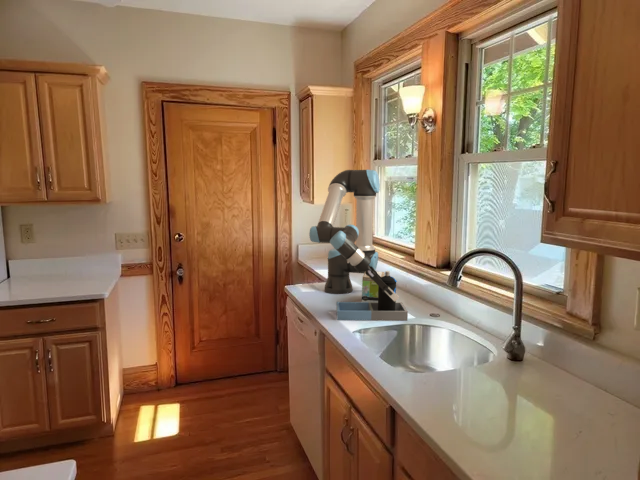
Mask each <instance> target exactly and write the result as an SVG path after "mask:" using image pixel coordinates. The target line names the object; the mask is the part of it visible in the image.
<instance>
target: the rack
mask: <svg viewBox="0 0 640 480" xmlns="http://www.w3.org/2000/svg"><path fill="white" fill-rule="evenodd" d="M408 314H409V313H408V310H407V308H406V307H405V305H404V304H403V302H397V301H396V306H395V311H378V302H362V301H336V319H337V321H390V322H391V321H393V322H394V321H396V322H397V321H400V322H404V321H405V322H406V321H407V322H408V316H409V315H408Z"/></svg>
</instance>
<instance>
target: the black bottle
mask: <svg viewBox="0 0 640 480" xmlns="http://www.w3.org/2000/svg"><path fill="white" fill-rule="evenodd" d="M384 272H385V276H383V277H381V278H380V279H381V280H382V281H383V282H384V283H385V284H386V285H387V286H388V287H389V288H390V289H391V290H392V291H393V292H394V293H395V294H396V295H397V292H396V291H397V282H398V281H397V280H396V279H395V278H394V277H393V276H391V275H390V274H391V272H390V270H385V271H384ZM383 288H384V287H383ZM382 291H383V290H382V289H381V288H380V287H379V286H378V311H395V306H396V302H397V300H396V301H395V302H394V301H393V300H392V299H391V298H390V297H389V296H388V295H387V294H386V293H385V292H382Z"/></svg>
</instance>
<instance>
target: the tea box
mask: <svg viewBox="0 0 640 480" xmlns="http://www.w3.org/2000/svg"><path fill="white" fill-rule="evenodd" d="M365 272H366V271H365ZM376 272H377V274H378V275H380V276H381V277H383V276H385V271H376ZM361 280H362V281H361V282H362V283H361V284H362V285H361V302H378V285H377V284H376V283H375V282H374V281H373V280H372V279H371V278H370V277H369V276H367V275H366V273H363V275H362V279H361Z"/></svg>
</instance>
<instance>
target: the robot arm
mask: <svg viewBox="0 0 640 480" xmlns="http://www.w3.org/2000/svg"><path fill="white" fill-rule="evenodd" d="M379 177H380V176H379V174H378V172H377V171H376V170H374V169H346V170H343V171H341V172H339V173H337V174H336V176H334V177H333V178H332V180H331V181H330V182H329V185H328V188H327V192H328V193H327V196H326V200H325V201H324V205H323V208H322V211H321V214H320V217H319V219H318V223H317V225H315V226H311V227H310V229H309V233H308V235H309V240H310V242H312V243H318V244H329V245H331V246H332V247H333V248H332V249H330V250H329V251H328V253H327V279H326V281H325V285H324V291H325V293H329V294H334V295H344V294H349V293H352V292H353V284H352V281H351V278H350V274H351V273H352V274H364V273H366V275H367V276H369V277H370V278H371V279H372V280H373V281H374V282H375V283H376V284H377V285H378V286H379V287H380V288H381V289H382V290H383V291H382V292H385V293H386V294H387V295H388V296H389V297H390V298H391V299H392V300H393V301H394V302H395V301H396V302H397V300H398V299H400V296H399V295H398V294H397V293H396V294H395V293H394V292H393V291H392V290H391V289H390V288H389V287H388V286H387V285H386V284H385V283H384V282H383V281H382V280H381V279H380V278H381V276H380V275H378V274H377V272H378V271H377V266H378V263H379V252H378V251H376V247H375V246H374V245H373V237H374V236H373V235H374V234H373V233H374V232H373V231H374V230H373V229H374V225H373V223H374V219H373V218H374V199H375V198H376V197H377V194H379V192H380V188H381V184H380V178H379ZM347 193H353V198H354V199H356V200H355V201H356V207H355V209H356V211H355V213H356V217H355V219H356V220H355V224H356V225H355V224H347V225H346V226H343V227H342V226H340V227H339V226H337V227H336V226H334V225H335V223H336V221H337V217H338V214H339V210H340V207H341V204H342V201H343V199H344V197H345V196H346V195H347ZM365 271H366V272H365ZM383 287H384V288H383Z"/></svg>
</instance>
